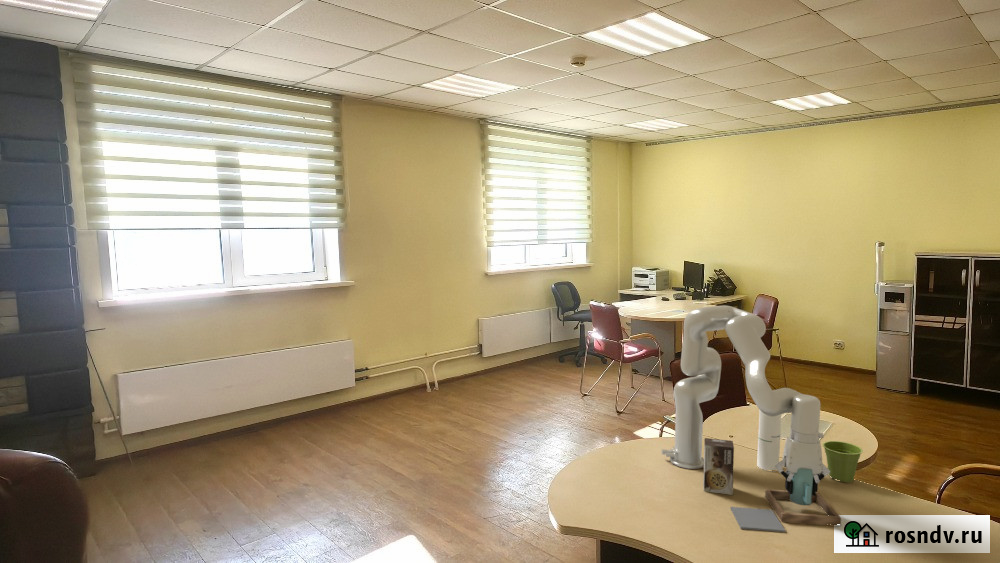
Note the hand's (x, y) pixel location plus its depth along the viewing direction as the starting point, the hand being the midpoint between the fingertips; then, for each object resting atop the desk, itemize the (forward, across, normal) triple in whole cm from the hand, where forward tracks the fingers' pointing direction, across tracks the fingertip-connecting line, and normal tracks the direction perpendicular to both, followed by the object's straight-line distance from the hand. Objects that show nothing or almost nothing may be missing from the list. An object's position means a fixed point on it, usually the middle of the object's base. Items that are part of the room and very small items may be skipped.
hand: (800, 492), depth 172 cm
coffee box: (+6, +22, -11) cm, 25 cm away
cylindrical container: (+6, 0, -32) cm, 32 cm away
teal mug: (+3, 0, +2) cm, 3 cm away
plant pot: (+6, -22, -26) cm, 35 cm away
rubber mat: (+6, +15, +8) cm, 18 cm away
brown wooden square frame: (+6, 0, 0) cm, 6 cm away
